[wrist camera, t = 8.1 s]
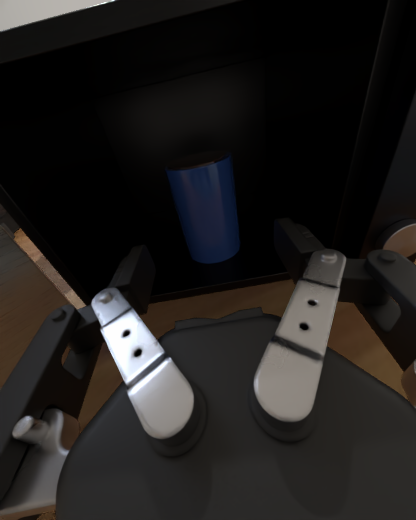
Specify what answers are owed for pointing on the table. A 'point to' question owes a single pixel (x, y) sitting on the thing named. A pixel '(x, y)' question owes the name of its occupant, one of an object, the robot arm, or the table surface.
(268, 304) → the table surface
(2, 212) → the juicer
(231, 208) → the cup
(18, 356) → the microwave door
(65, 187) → the microwave
